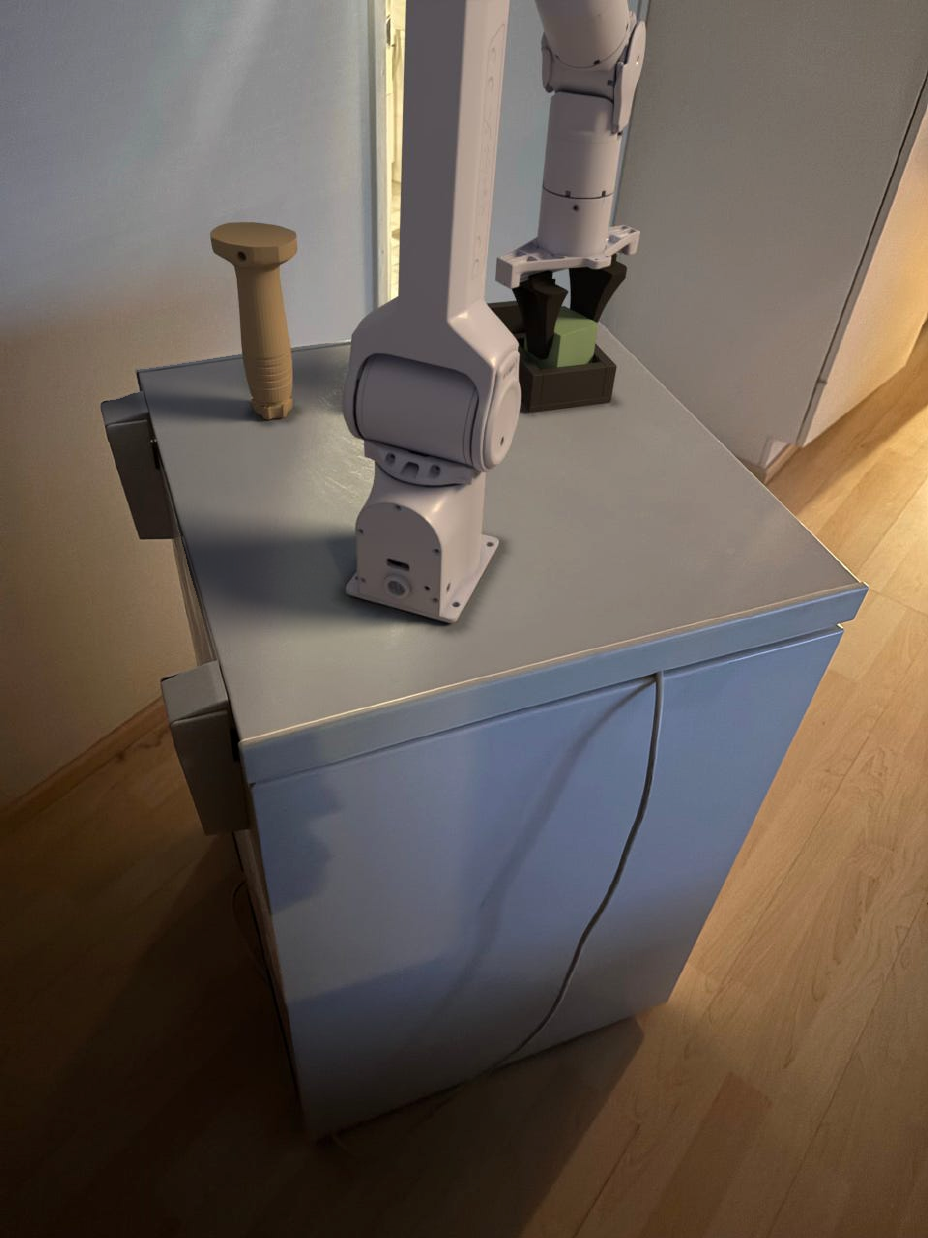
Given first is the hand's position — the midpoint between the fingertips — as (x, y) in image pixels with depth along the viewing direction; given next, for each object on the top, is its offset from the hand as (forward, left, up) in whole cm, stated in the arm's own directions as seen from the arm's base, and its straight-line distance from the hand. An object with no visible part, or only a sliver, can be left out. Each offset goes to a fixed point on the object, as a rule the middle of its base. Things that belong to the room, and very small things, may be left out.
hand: (558, 347), depth 80 cm
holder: (+3, +2, -4) cm, 5 cm away
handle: (-15, +21, -4) cm, 26 cm away
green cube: (0, 0, -1) cm, 1 cm away
